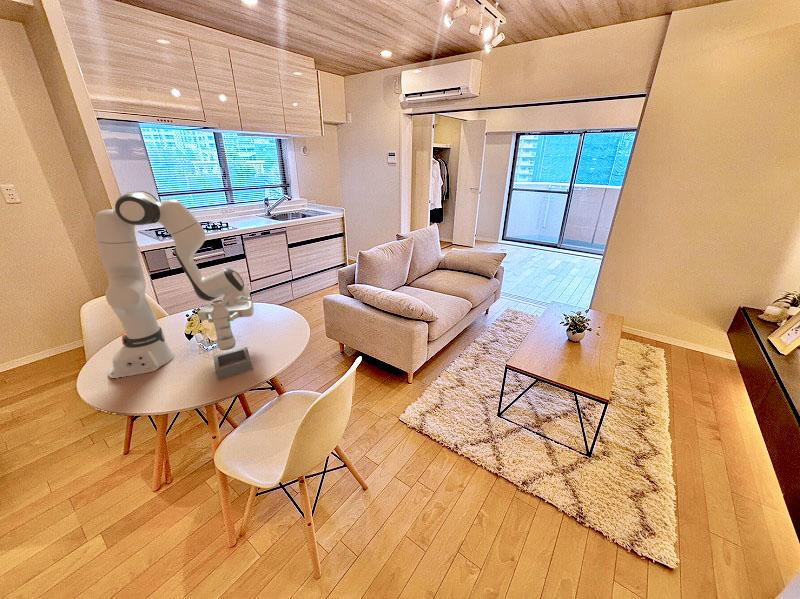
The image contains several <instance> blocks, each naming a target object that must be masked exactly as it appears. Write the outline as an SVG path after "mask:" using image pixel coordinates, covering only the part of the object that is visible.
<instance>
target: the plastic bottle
mask: <svg viewBox="0 0 800 599" xmlns="http://www.w3.org/2000/svg"><path fill="white" fill-rule="evenodd" d="M211 302H212V304H211V305H213V307H214V309H213V310H212V312H211V318H212V321H213V322H212V324H213V326H214V329H215V333H216V334H215V335H216V346H217V349H219V350H221V351H230V350H231V349H234V348H235V346H236V344H237V343H236V342H237V341H236V339H235V337H234V335H233V331H232V328H231V321H229V319H228V317H229V316H230V313H229V311H228V310H227V309H226V308H225V307H224V303H223V300H222V299H217V300H216V299H215V300H212V301H211Z"/></svg>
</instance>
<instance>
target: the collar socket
mask: <svg viewBox="0 0 800 599" xmlns="http://www.w3.org/2000/svg"><path fill="white" fill-rule="evenodd" d="M250 356H251V355H250V352H249V350H248V346H246V347H242V348H238V349H234V350H229V351H227V352H223V353H219V354H216V355H213V356H212V357H213V366H214V372H215V375H216V378H217V380H218V381H219V380H220V381H221V380H223V379H224V380H225V379H226V378H230V377H233V376H237V375H239V374H242V373H247V372H249V371H252V370H254V368H253V364H252V362H253V361H252V359H251V357H250ZM244 359H245V360H244ZM240 360H241V361H240ZM237 361H238V362H237ZM234 362H235V363H234ZM230 363H231V364H230ZM223 365H224V366H223Z"/></svg>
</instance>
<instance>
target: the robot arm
mask: <svg viewBox="0 0 800 599" xmlns="http://www.w3.org/2000/svg"><path fill="white" fill-rule="evenodd" d="M114 204H115V206H114V209H112V208H111V209H110V208H109V209H103V210H100V211H98V212H97V213H96V214H95V218H94V230H95V232H94V233H95V237H96V238H95V239H96V242H97V248H98V253H99V256H100V261H101V263H102V265H103V266H104V267H103V268H104V270H105V273H106V275H107V278H108V286H107V288H106V290H105V299H106V303H107V304H108V305H109V306H110V307H111V309H112V311H113V312H114V314H115V316H117V318H118V319H119V322H120V323H121V326H122V328H123V330H124V333H123V334H122V335H121V338H122V339H121V343H122V346H121V348H120V349H119V350H118V351H116V352H115V354H114V355H113V358H112V364H111V366H110V367H109V369H108V372H107V373H108V377H109V379H111V378H116V379H120V378H119V377H122V378H126V376H127V377H132V376H136V375H141V374H147V373H153V372H155V371H157V370H158V369H160V367H162V366H164V365H166V364H168V363H169V362H170V361H172V360H173V359H174V357H175V352H174V351H173V350H172V349H171V348H170V347H169V345H168V342H166V337H165V334H164V331H163V329H162V328H161V326H160V325H159V322H158V320H157V317H156V314H155V312H154V310H153V308H152V307H151V305H150V304H149V302H148V299H147V297H146V296H147V295H146V286H147V283H146V280H145V274H144V271H143V267H142V264H141V260H140V255H139V248H138V244H137V243H138V242H137V237H136V232H135V231H136V230H135V228H136V226H143V225H150V224H152V225H153V224H157V223H159V224H160V225H161V226H163V227H164V229H165V230H166V231H167V232H168V233H169V235H170V236H171V237H172V239H173V242H174V244H175V247H174V249H173V252H174V255H175V258H176V259H177V261H178V263H179V264H180V266H181V268H182V270H183V271H184V274H186V276H187V278H188V279H189V280H188V281H190V284H191V285H192V288H193V290H194V293H195V295H196V296H197V297H198V298H199V299H201V300H202V301H206V302H213V301H215V300H216V299H217V298H219V297H221V296H223V295H224V296H223V298H222V299H221V300H223V303H224V307H225V308H226V309H227V310H228V311H229V313H230V316H229V317H228V319H229V321H230V322H234V320H237V319H239V318H247V317H248V318H250V317H252V316H253V315H254V309H255V308H254V302H253V299H252V297H251V296H250V295H251V292H250V289H249V287H248V286H247V285H246V284H245V282H244V280H243V278H242V276H241V275H240V274H239V272H237V271H235V270H233V269H231V268H224V269H222V270H220V271H216V273H213V274H210V275H208V276H203V274H202V273H201V271H200V269H199V267H198V266H197V264H196V262H195V259H194V256H195V254H196V253H197V251H198V250H199V249H200V248H201V247H202V246H203V244H204V243H205V241H206V232H205V230H204V228H203V226H202V224H200V222H199V221H198V219H197V218H196V217H195V216H194V215H193V213H192V212H191V211H190V210H189V209H188V208H187V207H186V206H185V204H183V203H182V202H181V201H179V200H177V199H166V200H164V201H160V202H159V200H158V199H157V198H156V196H154V195H153V194H151V193H149V192H147V191H144V190H141V191H140V190H136V191H130V192H127V193H125V194H123V195H121V196H119V198H117V200H116V202H115V203H114ZM213 309H214V307H213V304H209V305H205V306H203V307H202V308H200V309H199V310H198V311H197V318H198V319H199V320H200V321H207V322H208V323H209V324H211V323H212V324H213V321H212V318H211V312H212V310H213Z"/></svg>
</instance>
